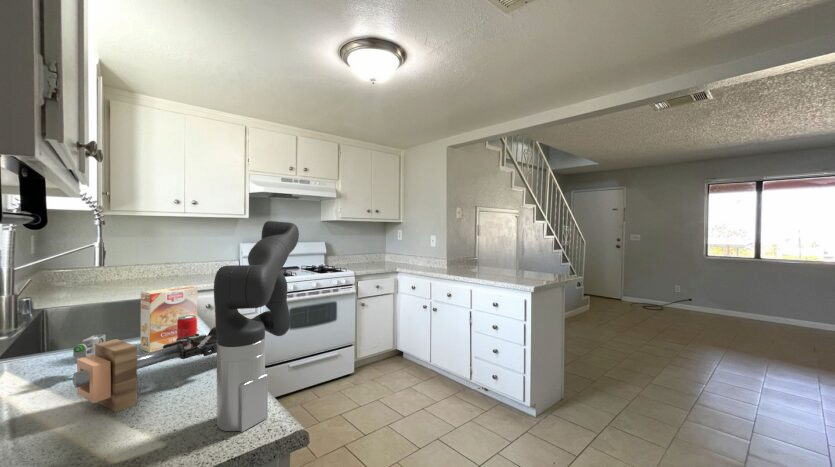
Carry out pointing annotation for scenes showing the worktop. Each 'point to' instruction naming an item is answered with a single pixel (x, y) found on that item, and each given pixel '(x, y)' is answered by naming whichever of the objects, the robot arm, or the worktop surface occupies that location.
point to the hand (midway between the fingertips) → (172, 352)
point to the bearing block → (120, 373)
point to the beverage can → (186, 326)
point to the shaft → (142, 361)
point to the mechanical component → (88, 346)
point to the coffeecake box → (164, 314)
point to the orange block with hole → (95, 378)
